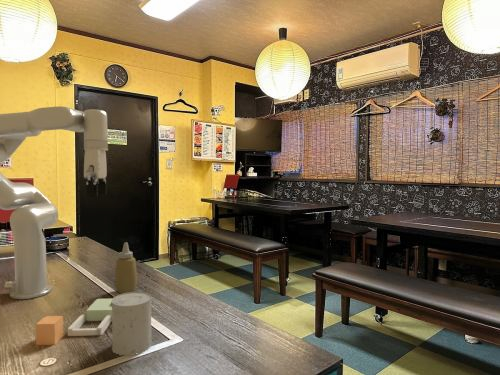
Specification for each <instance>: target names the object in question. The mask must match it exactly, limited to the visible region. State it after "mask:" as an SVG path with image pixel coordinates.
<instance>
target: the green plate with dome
mask: <svg viewBox="0 0 500 375" xmlns="http://www.w3.org/2000/svg"><path fill="white" fill-rule="evenodd" d="M112 299H113V298H97V299H95V300H94V301H93V302H92V303H91V305H89V307H88V308H87V309H86V310H85V314H80V315H79V316H77V319H76V320H74V322H72V324H71V325H69V326H68V328H67V336H68V337H77V336H79V337H80V336H82V337H83V336H85V337H87V336H103V335H104V333H105V331H106V330H107V329H108V327H109V326H110V324H112ZM98 321H99V322H100V323H99V325H98V326H97V327H96V328H95V327H92V328H91V327H90V328H89V327H87V328H81V327H82V326H83V325H84V323H85V322H98Z"/></svg>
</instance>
